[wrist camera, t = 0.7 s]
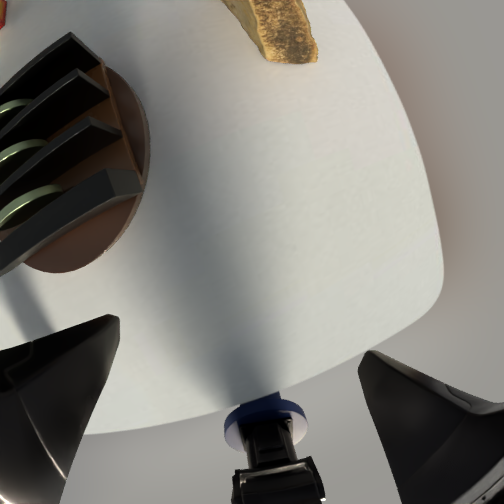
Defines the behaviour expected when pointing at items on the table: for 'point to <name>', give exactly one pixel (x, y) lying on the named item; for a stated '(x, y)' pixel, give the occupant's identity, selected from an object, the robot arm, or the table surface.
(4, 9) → the baking soda box
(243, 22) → the rock
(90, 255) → the base
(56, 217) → the dish rack
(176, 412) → the table surface
